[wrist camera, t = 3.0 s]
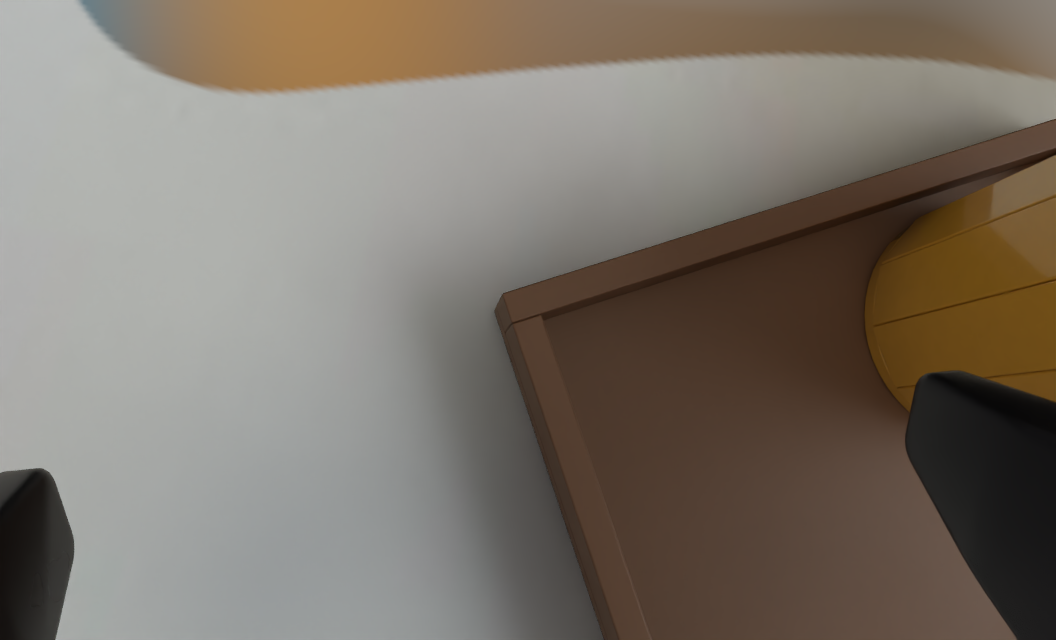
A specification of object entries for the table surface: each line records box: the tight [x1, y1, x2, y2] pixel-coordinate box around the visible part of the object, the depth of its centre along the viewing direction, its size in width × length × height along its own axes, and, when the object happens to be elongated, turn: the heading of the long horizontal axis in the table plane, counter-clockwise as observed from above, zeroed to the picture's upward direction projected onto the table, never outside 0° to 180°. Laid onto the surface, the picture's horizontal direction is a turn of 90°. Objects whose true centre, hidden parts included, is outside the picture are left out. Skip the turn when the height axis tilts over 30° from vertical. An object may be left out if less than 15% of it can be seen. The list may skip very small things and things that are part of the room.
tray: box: [494, 119, 1056, 640], centre depth 24 cm, size 17×19×3 cm
